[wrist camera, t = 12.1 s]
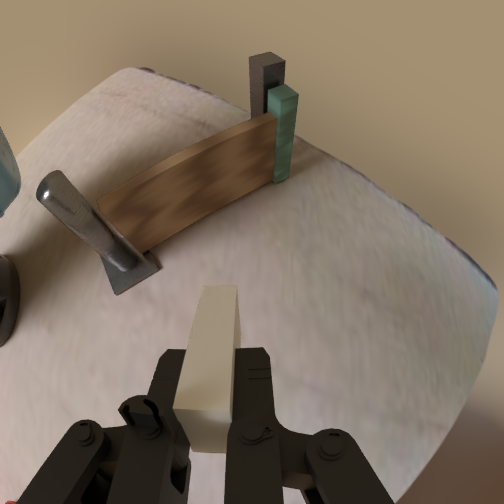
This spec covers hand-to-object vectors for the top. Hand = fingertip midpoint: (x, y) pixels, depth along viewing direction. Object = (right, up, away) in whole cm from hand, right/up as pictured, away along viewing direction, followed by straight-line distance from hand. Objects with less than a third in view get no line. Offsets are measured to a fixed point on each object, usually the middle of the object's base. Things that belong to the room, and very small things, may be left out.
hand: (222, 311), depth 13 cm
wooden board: (-3, +8, +20) cm, 22 cm away
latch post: (+3, +14, +23) cm, 27 cm away
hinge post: (-13, +2, +18) cm, 23 cm away
